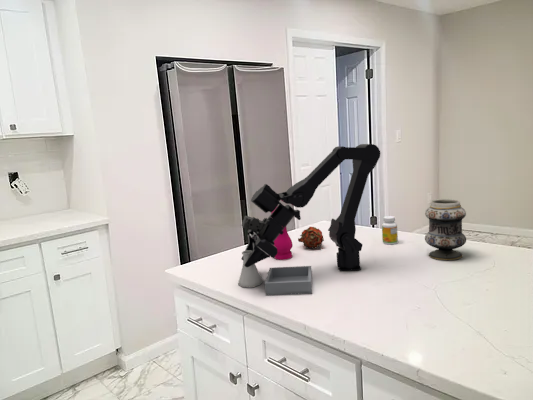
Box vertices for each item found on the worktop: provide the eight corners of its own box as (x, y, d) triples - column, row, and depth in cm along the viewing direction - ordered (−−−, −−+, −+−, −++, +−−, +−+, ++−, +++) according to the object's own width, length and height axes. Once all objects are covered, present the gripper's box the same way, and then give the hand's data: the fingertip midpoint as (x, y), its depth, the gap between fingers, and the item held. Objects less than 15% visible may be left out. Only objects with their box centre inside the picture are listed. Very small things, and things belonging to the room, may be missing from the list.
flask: (249, 277, 123) (246, 247, 122) (267, 281, 119) (264, 249, 117) (233, 285, 118) (230, 253, 116) (251, 290, 113) (248, 256, 112)
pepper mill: (292, 260, 137) (287, 203, 133) (271, 260, 138) (266, 204, 135) (294, 253, 144) (290, 199, 140) (275, 254, 145) (270, 200, 142)
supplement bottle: (379, 242, 148) (378, 217, 147) (392, 239, 150) (391, 214, 148) (388, 245, 143) (387, 219, 142) (400, 243, 145) (399, 217, 143)
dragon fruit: (318, 255, 144) (305, 252, 155) (333, 239, 146) (319, 236, 157) (303, 239, 142) (291, 237, 154) (318, 222, 144) (305, 221, 156)
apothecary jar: (475, 256, 124) (475, 200, 121) (445, 264, 119) (444, 206, 116) (445, 248, 135) (444, 196, 132) (417, 254, 130) (415, 201, 128)
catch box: (312, 276, 119) (311, 265, 119) (311, 293, 107) (310, 281, 106) (270, 278, 121) (269, 267, 120) (265, 295, 109) (264, 283, 108)
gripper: (251, 201, 124) (220, 239, 124) (262, 211, 106) (225, 256, 106) (277, 222, 127) (247, 260, 127) (292, 235, 109) (257, 279, 109)
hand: (244, 263), depth 117 cm, fingers open, 6 cm apart
